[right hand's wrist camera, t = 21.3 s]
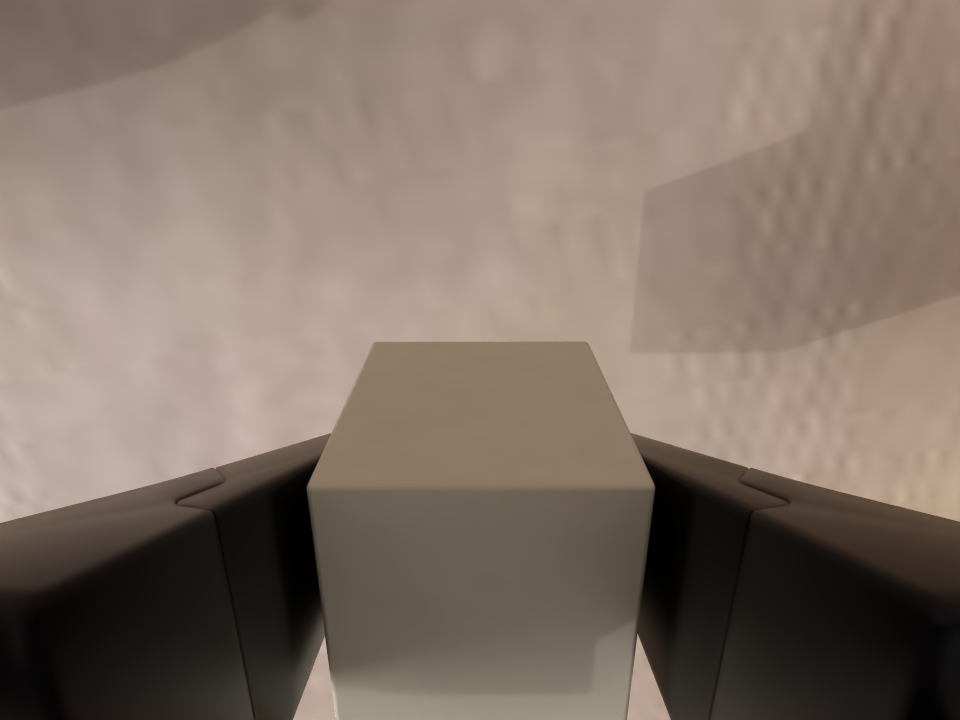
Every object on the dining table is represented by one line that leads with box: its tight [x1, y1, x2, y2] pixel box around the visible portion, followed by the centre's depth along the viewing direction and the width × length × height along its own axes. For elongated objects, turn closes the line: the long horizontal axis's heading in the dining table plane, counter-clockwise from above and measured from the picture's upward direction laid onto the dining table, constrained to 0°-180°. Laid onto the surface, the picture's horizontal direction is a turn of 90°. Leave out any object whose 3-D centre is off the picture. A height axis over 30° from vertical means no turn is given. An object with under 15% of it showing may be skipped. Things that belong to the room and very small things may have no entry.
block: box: [307, 342, 655, 720], centre depth 10 cm, size 4×4×5 cm
